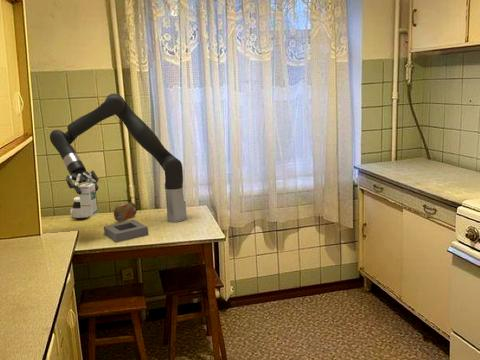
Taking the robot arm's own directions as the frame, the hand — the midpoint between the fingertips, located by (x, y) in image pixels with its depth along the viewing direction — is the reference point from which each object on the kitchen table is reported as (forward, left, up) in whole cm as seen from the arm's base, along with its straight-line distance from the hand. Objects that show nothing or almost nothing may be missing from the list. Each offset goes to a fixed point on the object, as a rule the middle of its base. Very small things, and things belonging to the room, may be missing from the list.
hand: (88, 191), depth 233 cm
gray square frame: (-15, +3, -24) cm, 28 cm away
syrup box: (0, -1, -11) cm, 11 cm away
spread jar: (-7, -43, -24) cm, 50 cm away
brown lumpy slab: (-25, -22, -24) cm, 41 cm away
